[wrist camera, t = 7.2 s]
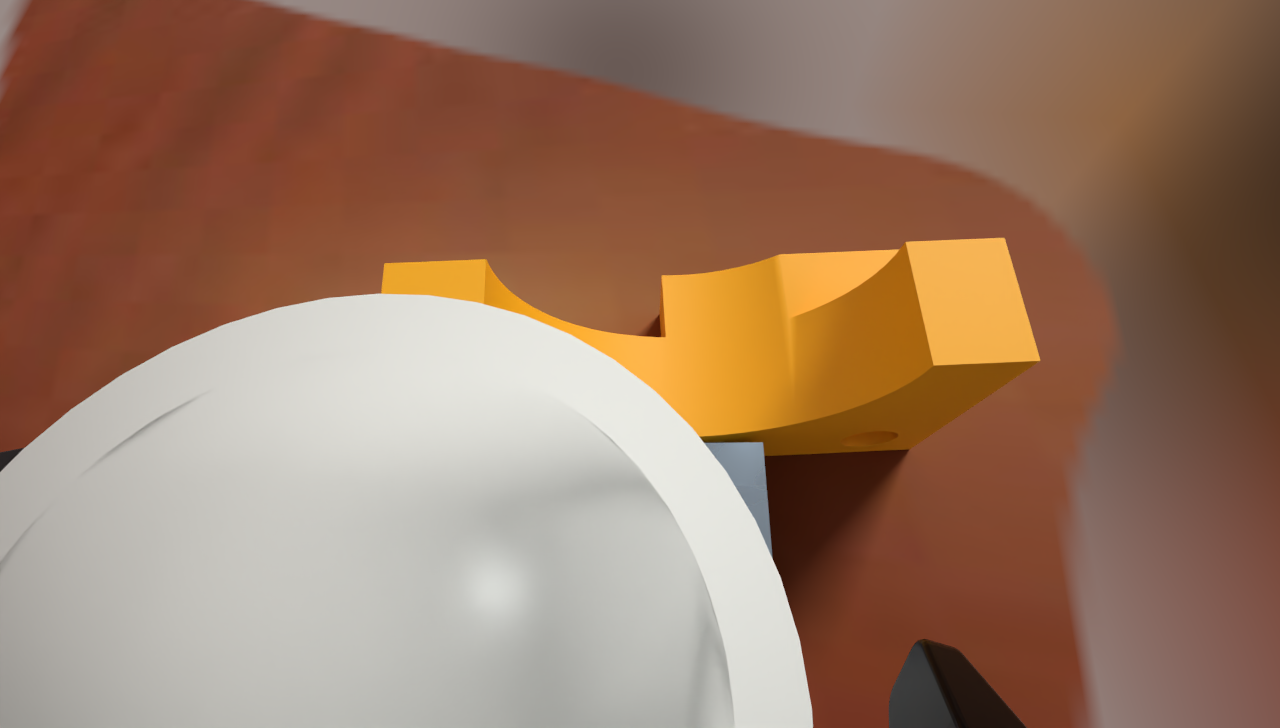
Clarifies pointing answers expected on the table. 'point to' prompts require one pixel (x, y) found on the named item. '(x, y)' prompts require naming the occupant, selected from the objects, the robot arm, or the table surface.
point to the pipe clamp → (808, 341)
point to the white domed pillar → (386, 539)
